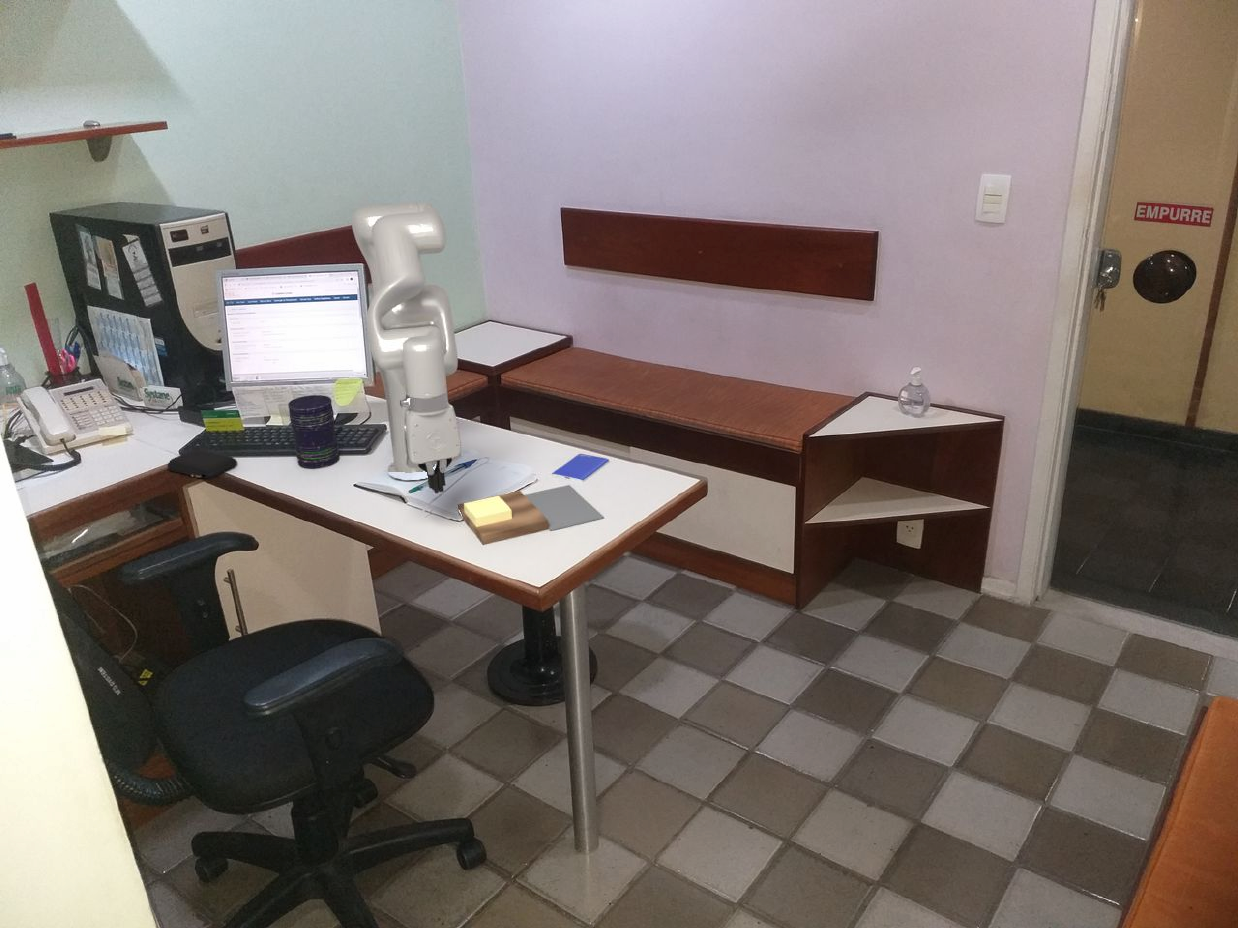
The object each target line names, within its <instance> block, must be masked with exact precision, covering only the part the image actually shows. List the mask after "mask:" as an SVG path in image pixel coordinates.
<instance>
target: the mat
mask: <svg viewBox="0 0 1238 928" xmlns="http://www.w3.org/2000/svg"><path fill="white" fill-rule="evenodd" d="M524 496H525V497H526V498H527V499H528V500H529V501H530V502H531V503H532V504H533V505H534V506H535V507H536V508H537V509H538V510H539V511H540V512H541V513H542V514H543V516H544V517H545V518H546V519H547V520H548V526H549V529H548V530H549V531H550V532H552V531H558V530H561V529H567V528H569V527H570V528H571V527H574V526H578V525H579V526H580V525H582V524H586V523H590V522H595V521H600V520H603V519H605V516H604V515H602V513H600V512H599V511H598V510H597V509H596V508H595V507H594V506H593V505H592V504H591V503H590V502H589V501H588V500H586V499H585V497H583V496H582V495H581V494H580V493H578V492H577V491H576V490H575V488H573V486H571V485H570V484H567V485H563V486H558V487H554V488H550V489H546V490H545V489H544V490H541V491H536V492H532V493H527V494H524Z"/></svg>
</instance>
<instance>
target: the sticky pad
mask: <svg viewBox="0 0 1238 928" xmlns="http://www.w3.org/2000/svg"><path fill="white" fill-rule="evenodd" d="M490 497H491V498H489V497H485V498H486V499H485V498H481V500H480V499H476V500H477V501H475V500H472V502H471V501H468V503H466V502H463V503H464V511H465V513H466V514H467V516H468V517H469V518H470V520H471V521H472V522H473V523H474V525H475V526H476V527H479V526H483V525H487V524H492V523H496V522H500V521H505V520H509V519H512V511H511V509H510V508H509V507H508V506H507V504H506V503H505V502H504V501H503V500H502V499H501V498H500V497H499V496H498V495H495V497H494V496H490Z"/></svg>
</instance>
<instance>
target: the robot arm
mask: <svg viewBox="0 0 1238 928" xmlns="http://www.w3.org/2000/svg"><path fill="white" fill-rule="evenodd" d="M351 226H352V227H351V228H352V232H353V235H354V239H355V241H356V244H357V246H358V248H359V250H360V252H361V255H362V256H363V258H364V260H365V262H366V264H367V266H368V269H369V273H370V277H371V283H372V290H373V298H372V300H371V302H370V304H369V306H368V310H367V313H366V331H367V335H368V342H369V348H370V352H371V353H370V354H371V356H372V359H373V362H374V364H375V365H376V366H377V367H378V369H379V373H380V377H381V381H382V385H383V389H384V395H385V403H386V410H387V417H388V418H387V419H388V425H389V427H388V428H389V433H390V434H389V435H390V440H391V441H390V443H391V448H392V449H391V450H392V451H391V452H392V457H393V462H391V463H390V464H389V465H388V467H387V473H388V472H405V473H413V472H423V471H425V472H427V476H428V479H427V482H428V488H429V489H430V490H432V491H433V492H434V493H435V494H439V493H444V486H446V479H445V473H446V472H447V468H448V467H449V466H450V464H451V463H452V462H455V461H456V460H458V459H461V458H462V441H461V436H460V430H459V425H458V421H457V416H456V413H455V408H454V406H453V405H451V404H450V403H449V399H448V398H449V397H448V389H447V379H446V377H447V376H450V375H451V376H452V375H453V374H454V373H455V372H456V371H457V369H458V365H459V361H458V359H459V358H458V349H457V344H456V343H457V342H456V336H455V330H454V323H453V322H454V321H453V316H452V309H451V305H450V304H451V303H450V300H449V297H448V294H447V292H446V290H445V289H444V288H443V287H442V286H440V285H436V284H426V279H425V278H426V277H425V273H424V270H423V266H422V265H423V264H422V261H421V256H422V255H431V254H433V255H434V254H439V253H442V252H443V251H444V250H445V248H446V245H447V244H446V243H447V236H446V235H447V234H446V228H445V224H444V223H443V220H442V218H441V216H440V214H439V213H438V211H437V210H436V209H435V207H433V205H431V204H430V203H429V202H424V201H422V202H421V201H419V202H418V201H417V202H405V203H391V204H389V203H388V204H375V205H368V206H364V207H361V208H358V209H357V210H355V211H354V213H353V214H352V216H351ZM435 464H436V468H435V470H434V469H433V467H434V466H435Z"/></svg>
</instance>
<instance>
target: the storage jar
mask: <svg viewBox="0 0 1238 928" xmlns="http://www.w3.org/2000/svg"><path fill="white" fill-rule="evenodd" d="M287 404H288V405H287V406H288V411H289V421H290V426H291V428H292V429H293V435H294V447H295V449H294V450H295V455H296V458H297V464H298V466H299V467H300V468H303V469H305V470H306V469H307V470H317V469H318V470H319V469H324V468H328V467H332V466H334V465H336V464H337V463H338V462H339V461H340V459H341V458H340V454H339V453H340V451H339V450H340V448H339V443H338V438H337V436H336V430H335V424H334V423H335V416H334V408H333V405H332V404H333V403H332V398H331V397H330V396H327V395H322V394H313V395H310V394H309V395H303V396H301V397H297V398H293V399H292V400H290V401H289V402H288V403H287Z"/></svg>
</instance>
